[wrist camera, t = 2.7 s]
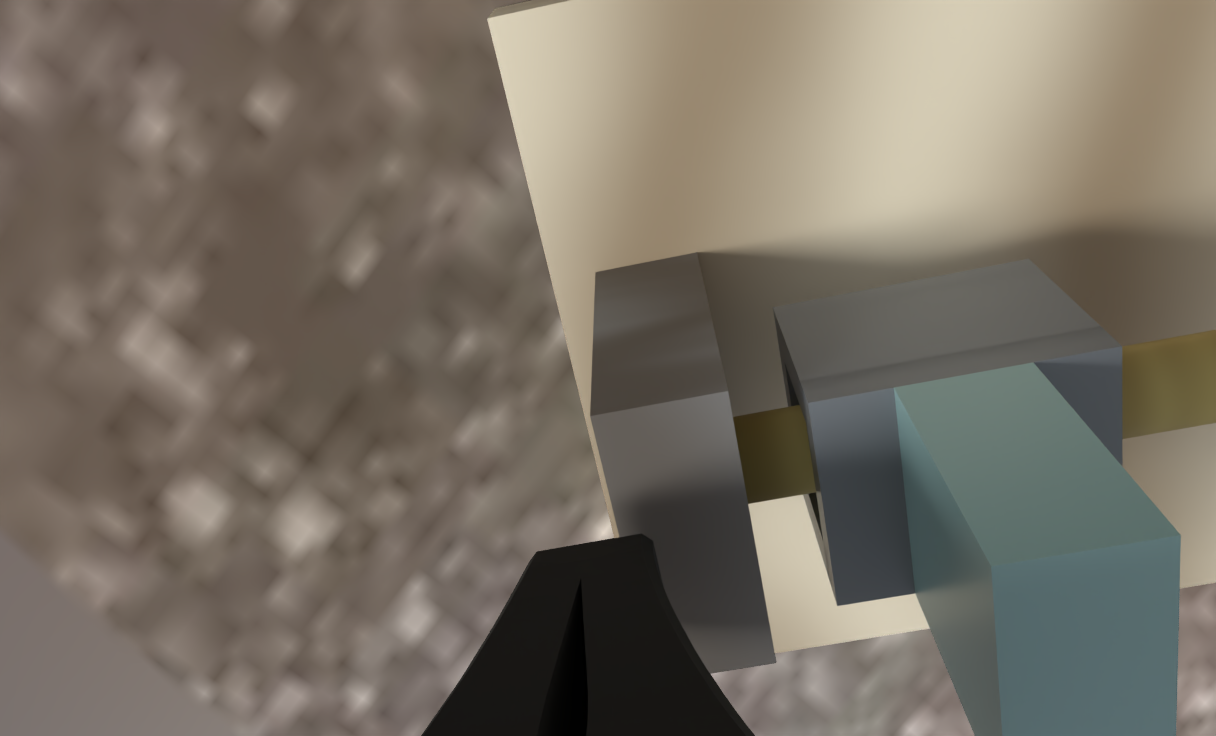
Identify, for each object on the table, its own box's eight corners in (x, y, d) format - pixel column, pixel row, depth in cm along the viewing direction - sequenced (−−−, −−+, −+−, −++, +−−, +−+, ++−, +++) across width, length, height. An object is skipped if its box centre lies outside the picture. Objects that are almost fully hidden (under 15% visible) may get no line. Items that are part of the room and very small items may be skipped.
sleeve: (1029, 259, 15) (1301, 514, 9) (1036, 442, 16) (1282, 773, 10) (772, 306, 15) (874, 585, 9) (799, 483, 16) (905, 828, 11)
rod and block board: (1782, -275, 14) (2488, -360, 9) (1613, 473, 19) (2002, 708, 14) (495, 8, 16) (437, 79, 11) (645, 631, 21) (657, 898, 16)
